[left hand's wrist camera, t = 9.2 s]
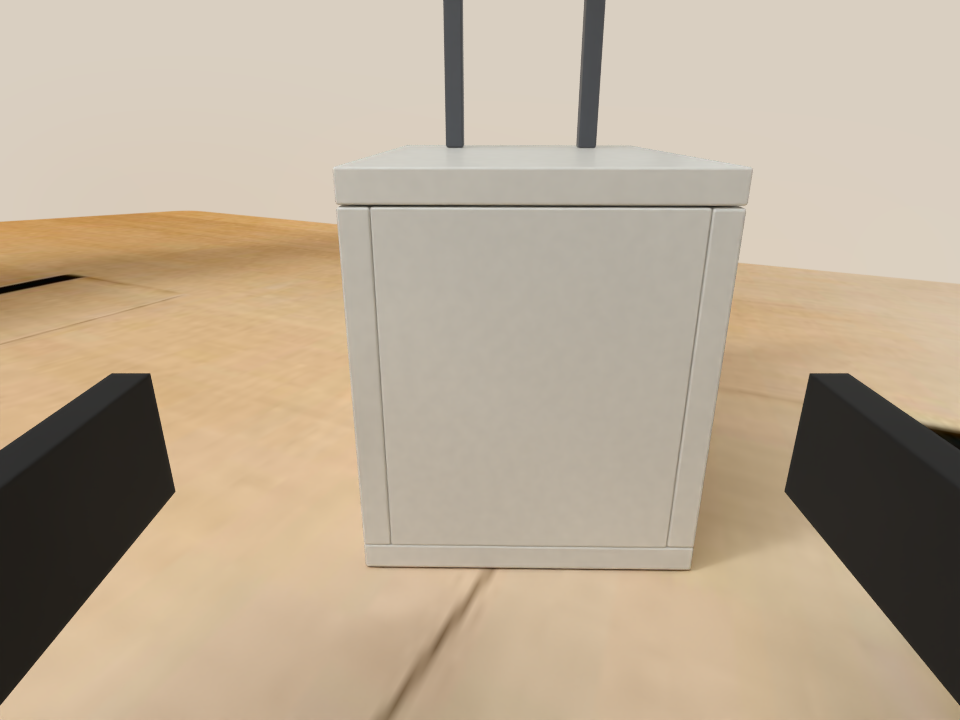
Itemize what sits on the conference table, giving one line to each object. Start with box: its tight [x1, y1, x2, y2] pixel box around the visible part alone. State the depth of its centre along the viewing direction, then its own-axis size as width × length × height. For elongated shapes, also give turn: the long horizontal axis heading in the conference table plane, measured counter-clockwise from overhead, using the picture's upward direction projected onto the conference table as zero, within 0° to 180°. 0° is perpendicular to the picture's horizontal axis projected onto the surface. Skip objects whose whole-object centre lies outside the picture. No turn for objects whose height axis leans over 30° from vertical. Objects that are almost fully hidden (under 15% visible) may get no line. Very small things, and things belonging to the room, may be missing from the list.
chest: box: [336, 205, 746, 570], centre depth 23 cm, size 13×10×11 cm
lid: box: [333, 0, 753, 206], centre depth 19 cm, size 13×10×9 cm
